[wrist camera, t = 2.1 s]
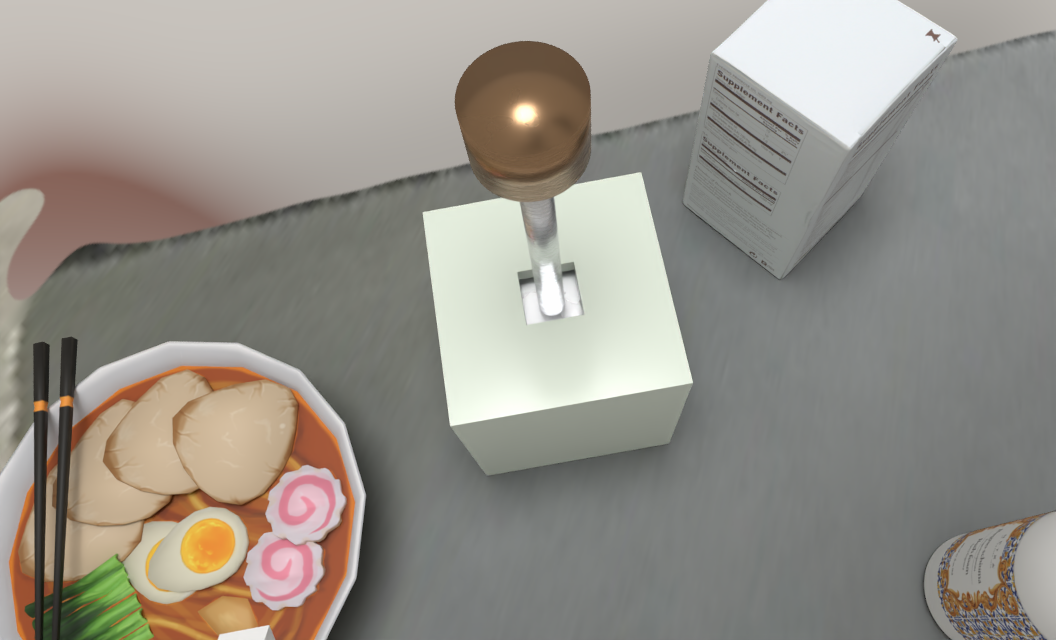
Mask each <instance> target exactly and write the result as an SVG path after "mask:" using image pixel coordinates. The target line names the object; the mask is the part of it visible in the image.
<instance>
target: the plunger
mask: <svg viewBox="0 0 1056 640" xmlns="http://www.w3.org/2000/svg"><path fill="white" fill-rule="evenodd" d="M590 96H591V94H590V85H589V81H588V79H587V76H586V74H585V72H584V70H583V68H582V67H581V66H580V64H579V63H578V62H577V61H576V60H575V59H574V58H573V57H572V56H571V55H569V54H568V53H567V52H565V51H563V50H561V49H560V48H557V47H555V46H552V45H549V44H546V43H541V42H533V41H519V42H512V43H508V44H503V45H501V46H498V47H496V48H493V49H491V50H489V51H487V52H486V53H484V54H482V55H481V56H480V57H478V58H477V59H476V60H475V61H474V62H473V63H472V64H471V65H470V66H469V67H468V68H467V69H466V71H465V72H464V74H463V75H462V77H461V79H460V81H459V83H458V86H457V90H456V94H455V109H456V114H457V118H458V121H459V125H460V129H461V132H462V136H463V140H464V143H465V147H466V150H467V154H468V157H469V161H470V165H471V168H472V170H473V172H474V174H475V176H476V177H477V179H478V180H479V181H480V183H481V184H482V185H483V186H484V187H485V188H487V189H488V190H489V191H491V192H492V193H494V194H496V195H498V196H500V197H502V198H505V199H508V200H512V201H517V202H520V206H521V212H522V217H523V222H524V228H525V233H526V239H527V244H528V249H529V255H530V260H531V266H532V271H533V277H531V278H525V279H520V280H519V283H520V289H521V295H522V300H523V306H524V312H525V318H526V324H527V325H529V324H535V323H540V322H546V321H551V320H557V319H562V318H568V317H574V316H579V315H583V310H582V305H581V300H580V295H579V290H578V285H577V280H576V275H575V270H569V271H564V272H562V268H561V258H560V248H559V238H558V228H557V219H556V209H555V199H554V197H555V196H557V195H559V194H561V193H563V192H564V191H566V190H567V189H569V188H570V187H571V186H572V185H573V184H575V183H576V182H577V180H578V179H579V178H580V177H581V175H582V174H583V173H584V171H585V169H586V167H587V165H588V162H589V159H590V154H591V99H590V98H591V97H590Z"/></svg>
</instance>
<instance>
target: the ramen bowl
mask: <svg viewBox="0 0 1056 640" xmlns="http://www.w3.org/2000/svg"><path fill="white" fill-rule="evenodd" d="M33 355H34V405H35V409H34V422H33V424H32V425H31V427H30V429H29V430H28V432H27V433H26V435H25V436H24V438H23V439H22V441H21V442H20V444H19V445H18V447H17V448H16V450H15V451H14V453H13V455H12V456H11V458H10V459H9V461H8V462H7V464H6V465H5V467H4V468H3V470H2V471H1V473H0V640H218V638H219V635H220V634H224V633H230V632H235V631H240V630H246V629H251V628H256V627H262V626H267V625H269V626H270V628H271V630H272V633H273V635H274V638H275V640H326V639H327V637H328V635H329V633H330V631H331V629H332V627H333V625H334V623H335V621H336V619H337V617H338V615H339V613H340V611H341V608H342V606H343V604H344V602H345V600H346V598H347V596H348V594H349V592H350V590H351V588H352V586H353V584H354V582H355V580H356V578H357V569H358V561H359V552H360V544H361V535H362V526H363V518H364V509H365V500H366V493H365V490H364V486H363V483H362V479H361V476H360V473H359V469H358V466H357V463H356V459H355V456H354V453H353V449H352V446H351V442H350V439H349V436H348V432H347V429H346V426H345V423H344V421H343V420H342V419H341V418H340V417H339V416H338V414H337V413H336V412H335V411H334V410H333V408H332V407H331V406H330V405H329V404H328V402H327V401H326V400H325V399H324V398H323V397H322V395H321V394H320V393H319V392H318V391H317V389H316V388H315V387H314V386H313V385H312V383H311V382H310V381H309V380H308V379H307V378H306V376H305V375H304V374H303V373H302V372H301V370H299V369H297V368H295V367H292V366H290V365H288V364H286V363H283V362H281V361H279V360H276V359H274V358H272V357H270V356H267V355H265V354H263V353H260V352H258V351H256V350H254V349H251V348H249V347H247V346H245V345H242V344H240V343H225V342H172V341H168V342H166V343H163V344H160V345H158V346H155V347H152V348H150V349H147V350H144V351H142V352H139V353H136V354H134V355H131V356H128V357H126V358H123V359H120V360H118V361H115V362H112V363H110V364H107V365H104V366H102V367H99V368H98V369H97V370H95V371H94V372H93V373H92V374H90V375H89V376H88V377H86V378H85V379H84V380H83V381H81V382H80V383H79V384H78V385H76V386H75V374H76V357H77V339H75V338H73V337H68V338H62V347H61V376H60V399H59V400H57V401H56V402H55V403H54V404H52V405H51V406H50V407H49V408H47V405H48V392H49V344H47V343H45V342H40V343H35V344H33Z"/></svg>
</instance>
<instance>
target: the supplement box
mask: <svg viewBox="0 0 1056 640" xmlns="http://www.w3.org/2000/svg"><path fill="white" fill-rule="evenodd" d="M956 41H957V38H956V37H955V36H954V35H952V34H951V33H949V32H948V31H946V30H945V29H943V28H942V27H940V26H938V25H937V24H935V23H934V22H932V21H930V20H929V19H927V18H926V17H924V16H922V15H921V14H919V13H917V12H916V11H914V10H913V9H911V8H909V7H908V6H906V5H904V4H903V3H901V2H900V1H898V0H767V1H766V2H765V3H764V4H763V5H762V6H761V7H760V8H759V9H758V10H757V11H756V12H755V13H753V14H752V15H751V16H750V18H748V19H747V20H746V21H745V22H744V23H743V24H742V25H741V26H740V27H739V28H738V29H737V30H736V31H735V32H733V33H732V34H731V35H730V36H729V37H728V38H727V39H726V40H725V41H724V42H723V43H722V44H721V45H720V46H719V47H718V48H716V49H715V50H714V51H713V52H712V53H711V55H710V60H709V66H708V71H707V77H706V82H705V87H704V93H703V98H702V103H701V108H700V114H699V119H698V124H697V129H696V134H695V140H694V145H693V150H692V156H691V161H690V166H689V172H688V177H687V182H686V188H685V193H684V199H683V204H684V205H685V206H686V207H688V208H689V209H690V210H691V211H693V212H694V213H695V214H696V215H698V216H699V217H700V218H701V219H703V220H704V221H705V222H707V223H708V224H709V225H710V226H712V227H713V228H714V229H715V230H717V231H718V232H719V233H721V234H722V235H723V236H724V237H726V238H727V239H728V240H730V241H731V242H732V243H733V244H735V245H736V246H737V247H738V248H740V249H741V250H742V251H744V252H745V253H746V254H747V255H749V256H750V257H751V258H752V259H754V260H755V261H756V262H758V263H759V264H760V265H761V266H763V267H764V268H765V269H767V270H768V271H769V272H770V273H772V274H773V275H774V276H775V277H777V278H778V279H783V278H784V277H785V276H786V275H787V274H788V273H789V272H790V271H791V270H792V269H793V268H794V267H795V266H796V265H797V264H798V263H799V262H800V261H801V260H802V259H803V258H804V257H805V256H806V255H807V253H808V252H809V251H810V250H811V249H812V248H813V247H814V246H815V245H816V244H817V243H818V241H819V240H820V239H821V238H822V237H823V236H824V235H825V234H826V233H827V232H828V231H829V230H830V229H831V228H832V227H833V226H834V225H835V224H836V222H837V221H838V220H839V219H840V218H841V217H842V216H843V215H844V214H845V213H846V212H847V211H848V210H849V209H850V208H851V207H852V206H853V205H854V203H855V202H856V201H857V200H858V199H859V198H860V197H861V196H862V194H863V192H864V191H865V189H866V187H867V186H868V184H869V183H870V181H871V180H872V178H873V176H874V175H875V173H876V171H877V170H878V168H879V167H880V165H881V163H882V162H883V160H884V158H885V157H886V155H887V154H888V152H889V150H890V149H891V147H892V145H893V144H894V142H895V140H896V139H897V137H898V135H899V134H900V132H901V130H902V129H903V127H904V125H905V124H906V122H907V120H908V119H909V117H910V115H911V114H912V112H913V111H914V109H915V108H916V106H917V105H918V103H919V101H920V100H921V98H922V97H923V95H924V94H925V92H926V90H927V89H928V87H929V86H930V84H931V82H932V81H933V79H934V78H935V76H936V74H937V73H938V71H939V69H940V68H941V66H942V65H943V63H944V61H945V60H946V58H947V56H948V55H949V53H950V52H951V50H952V48H953V46H954V45H955V43H956Z"/></svg>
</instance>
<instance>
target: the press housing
mask: <svg viewBox="0 0 1056 640" xmlns="http://www.w3.org/2000/svg"><path fill="white" fill-rule="evenodd" d="M554 199H555V209H556V219H557V228H558V238H559V248H560V258H561V268H562V272H564V271H569V270H575V275H576V280H577V285H578V290H579V295H580V300H581V305H582V310H583V315H579V316H574V317H568V318H562V319H557V320H551V321H546V322H540V323H535V324H529V325H527V324H526V318H525V312H524V306H523V300H522V295H521V289H520V283H519V280H520V279H525V278H531V277H533V271H532V266H531V260H530V255H529V249H528V244H527V239H526V233H525V228H524V222H523V217H522V212H521V206H520V202H517V201H512V200H508V199H505V198H498V199H493V200H488V201H482V202H477V203H471V204H466V205H460V206H455V207H449V208H444V209H439V210H433V211H428V212H423V218H424V226H425V234H426V242H427V250H428V257H429V265H430V273H431V281H432V288H433V296H434V304H435V312H436V319H437V327H438V335H439V343H440V351H441V358H442V366H443V374H444V382H445V389H446V397H447V405H448V413H449V420H450V427H451V428H452V429H453V431H454V432H455V433H456V435H457V436H458V437H459V439H460V440H461V441H462V443H463V444H464V445H465V447H466V448H467V449H468V451H469V452H470V454H471V455H472V456H473V458H474V459H475V460H476V462H477V463H478V464H479V466H480V467H481V468H482V470H483V471H484V472H485V474H486V475H487V476H489V475H494V474H500V473H506V472H511V471H517V470H523V469H528V468H534V467H540V466H545V465H551V464H557V463H562V462H568V461H573V460H579V459H585V458H590V457H596V456H602V455H607V454H613V453H619V452H624V451H630V450H636V449H641V448H647V447H652V446H658V445H664V444H669V443H670V440H671V438H672V435H673V433H674V430H675V427H676V425H677V422H678V420H679V417H680V415H681V412H682V410H683V407H684V404H685V402H686V399H687V397H688V394H689V392H690V389H691V387H692V384H693V381H692V377H691V373H690V369H689V365H688V361H687V357H686V353H685V349H684V345H683V341H682V336H681V332H680V328H679V324H678V320H677V316H676V312H675V308H674V304H673V300H672V296H671V292H670V288H669V284H668V280H667V276H666V272H665V268H664V263H663V259H662V255H661V251H660V247H659V243H658V239H657V235H656V231H655V227H654V223H653V219H652V215H651V211H650V207H649V203H648V199H647V194H646V190H645V186H644V182H643V178H642V174H641V172H640V173H635V174H629V175H624V176H618V177H613V178H607V179H602V180H597V181H591V182H586V183H580V184H575V185H572V186H571V187H570V188H569V189H567V190H566V191H564V192H563V193H561V194H559V195H557V196H555V197H554Z"/></svg>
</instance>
